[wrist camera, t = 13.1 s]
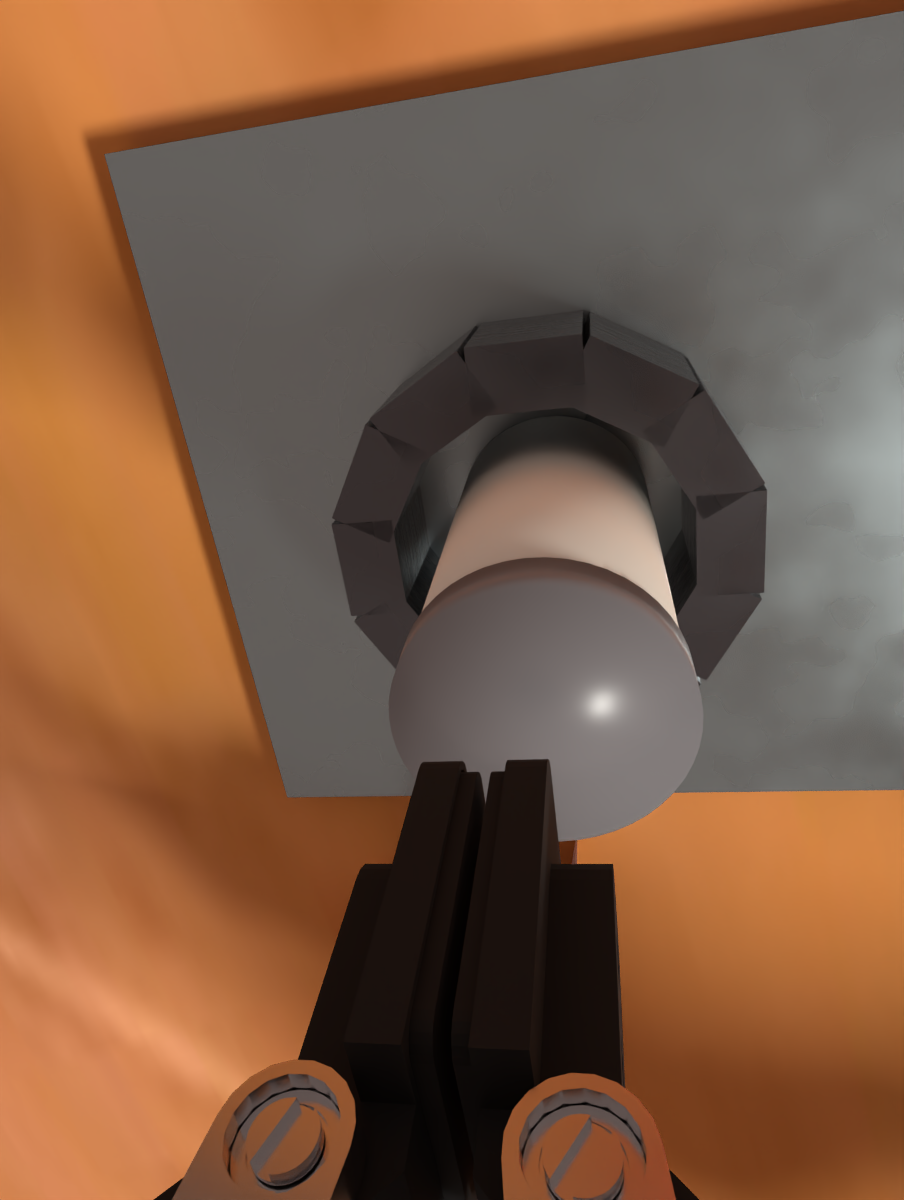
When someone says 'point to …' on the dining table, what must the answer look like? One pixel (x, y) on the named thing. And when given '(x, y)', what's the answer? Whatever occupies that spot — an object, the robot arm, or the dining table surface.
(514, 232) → the square plate with ring
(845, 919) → the dining table surface
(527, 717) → the round-ended cylinder
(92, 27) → the dining table surface
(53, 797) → the dining table surface
